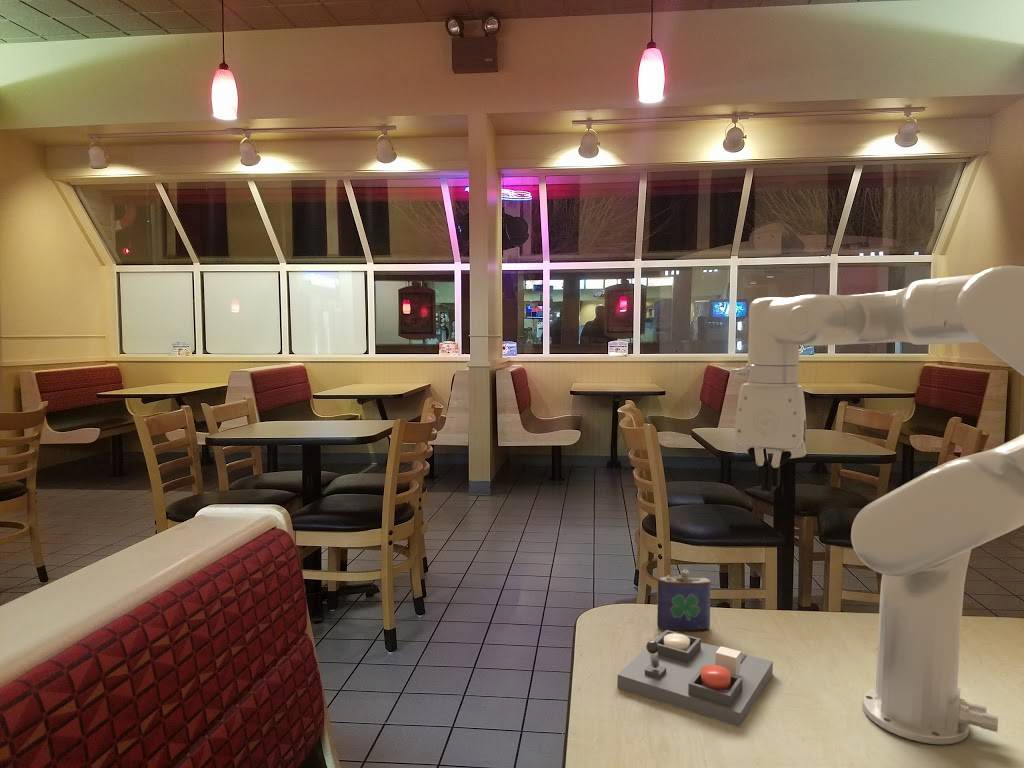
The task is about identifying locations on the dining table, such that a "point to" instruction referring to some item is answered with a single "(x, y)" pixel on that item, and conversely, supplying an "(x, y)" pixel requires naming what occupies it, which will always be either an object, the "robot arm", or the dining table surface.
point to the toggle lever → (653, 653)
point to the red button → (715, 677)
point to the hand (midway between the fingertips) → (768, 489)
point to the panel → (696, 680)
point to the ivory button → (677, 641)
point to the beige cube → (729, 659)
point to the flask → (683, 603)
